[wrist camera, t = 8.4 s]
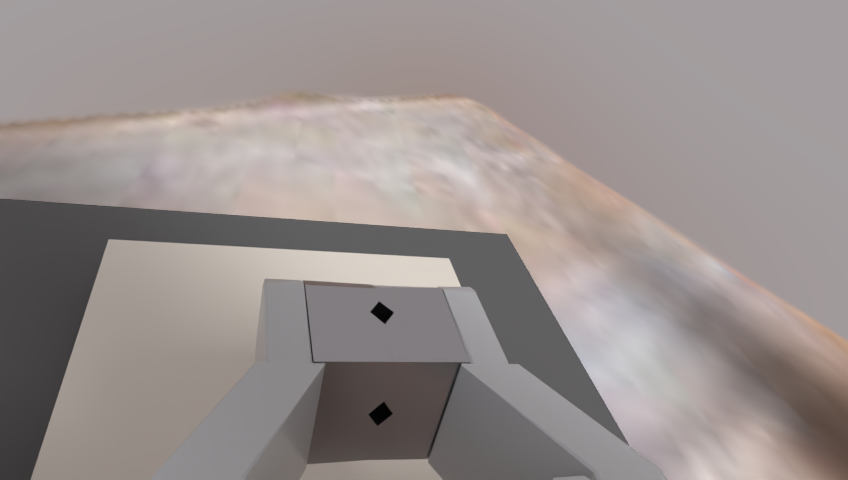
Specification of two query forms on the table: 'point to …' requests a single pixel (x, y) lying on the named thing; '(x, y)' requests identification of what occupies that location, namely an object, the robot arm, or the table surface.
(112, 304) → the tile
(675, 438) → the table surface
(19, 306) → the mat
